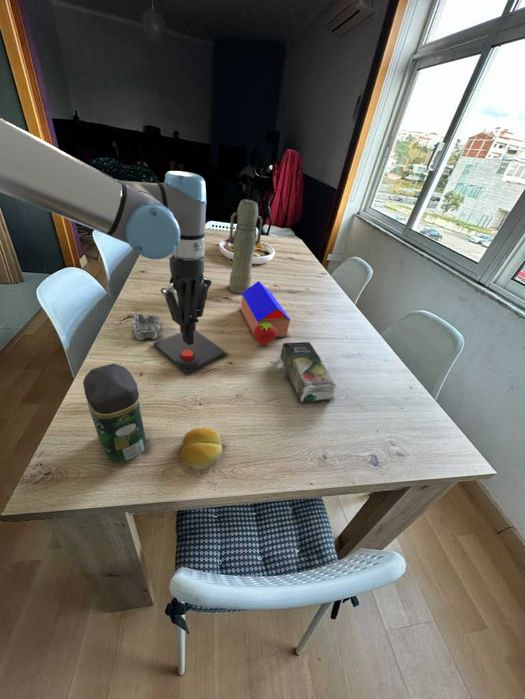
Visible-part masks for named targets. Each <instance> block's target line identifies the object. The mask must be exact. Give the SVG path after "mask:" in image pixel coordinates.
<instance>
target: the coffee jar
mask: <svg viewBox="0 0 525 699" xmlns="http://www.w3.org/2000/svg"><path fill="white" fill-rule="evenodd" d="M82 381H83V382H82V384H83V389H84V394H85V399H86V401H87V405H88V409H89V412H90V416H91V419H92V422H93V426H94V428H95V431H96V433H97V437H98V440H99V443H100V446H101V449H102V451H103V453H104V455H105V456H106V458H107V460H109V461H110V462H111V463H116V464H119V463H124V462H128V461H130V460H132V459H134V458H136V457H138V456H139V455H141V454H142V453H143V452H144V451H145V449H146V447H147V440H146V439H147V438H146V434H145V429H144V428H145V427H144V423H143V422H144V421H143V416H142V411H141V410H142V409H141V406H140V405H141V404H140V393H139V389H138V383H137V382H136V380H135V379H134V376H133V375H132V373H131V372H130V371H129V369H128V368H126V367H125V366H123V365H120V364H116V363H109V364H104V365H102V366H98V367H94V368H92V369H90V371H89V372H88V373H87V374H86V375H85V376H84V378H83V380H82Z"/></svg>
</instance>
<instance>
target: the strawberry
mask: <svg viewBox="0 0 525 699" xmlns="http://www.w3.org/2000/svg"><path fill="white" fill-rule="evenodd" d="M263 323H264V324H262V323H260V324H258V326H257V327H255V329H254V334H253V337H254V338H255V340H256V342H257V343H258V344H259V345H260V347H264V346H266V345H268V344H270V343H271V342H272V341H274V339H276V338H277V337H276V335H277V330H276V328H275V327H274V326H272V325H274V324H269V322H268V323H266V322H264V321H263Z"/></svg>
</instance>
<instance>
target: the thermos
mask: <svg viewBox="0 0 525 699" xmlns="http://www.w3.org/2000/svg"><path fill="white" fill-rule="evenodd" d="M258 205H259V204H258V203H257V202H256V201H255V200H253V199H247V198H246V199H242V200H240V202H239V204H238V207H237V211H235V212H233V213H232V215H231V216H230V226H229V227H230V228H229V236H230V241H231V242H233V249H234V253H233V260H232V266H231V271H230V275H229V290H230V291H231V292H232V293H233V294H238V295H239V294H240V295H242V293H243V292H244V291H246V290H247V289H248V288H250V287H251V286H252V285H251V284H252V267H253V264H252V259H253V253H254V251H255V246H256V245H258V244H259V243H260V242H261V236H262V229H263V222H264V220H263V219H262V216H260V215H259V207H258ZM235 218H236V226H235V231H234V220H235ZM258 221H259V224H258ZM257 224H258V231H257ZM232 235H234V237H233V239H232Z"/></svg>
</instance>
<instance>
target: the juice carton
mask: <svg viewBox="0 0 525 699" xmlns="http://www.w3.org/2000/svg"><path fill="white" fill-rule="evenodd" d="M279 356H280V360H281V361H282V364H283V366H284V367H285V371H286V373H287V376H288V377H289V380H290V382H291V383H292V385H293V387H294V389H295V392H296V394H297V396H298V398H299V401H300V402H301V403H303V402H304V403H310V402H311V403H312V402H315V401H321V400H331V399H332V397H333V394H335V390H336V388H337V384H336V383H335V381H334V379H333V377H332V376H331V374H330V372H329V370H328V369H327V367H326V366H325V364H324V362H323V360H322V359H321V357H320V355H318V353H317V351H316V350H315V348H314V347H313V345H312V344H311V342H310V341H302V342H301V341H299V342H284V343H283V344H282V348H281V351H280V355H279Z"/></svg>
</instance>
